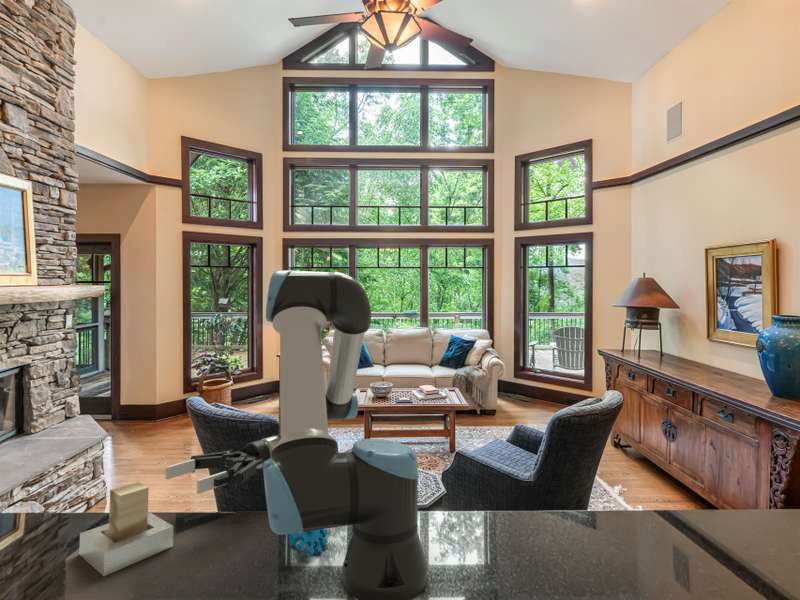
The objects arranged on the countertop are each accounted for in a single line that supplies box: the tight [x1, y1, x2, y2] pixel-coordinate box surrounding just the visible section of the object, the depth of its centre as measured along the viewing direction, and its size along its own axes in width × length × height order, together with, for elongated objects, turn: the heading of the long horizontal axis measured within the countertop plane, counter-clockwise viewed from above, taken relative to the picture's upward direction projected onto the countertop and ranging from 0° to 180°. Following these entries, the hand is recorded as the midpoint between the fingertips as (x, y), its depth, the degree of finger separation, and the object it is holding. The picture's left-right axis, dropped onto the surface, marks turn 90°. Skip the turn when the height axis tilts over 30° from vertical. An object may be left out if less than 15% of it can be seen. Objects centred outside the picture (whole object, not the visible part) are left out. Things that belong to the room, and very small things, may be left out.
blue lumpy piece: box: [288, 529, 329, 557], centre depth 83 cm, size 11×6×10 cm
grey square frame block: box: [78, 511, 174, 577], centre depth 82 cm, size 12×12×4 cm
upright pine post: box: [108, 481, 150, 543], centre depth 82 cm, size 5×5×12 cm
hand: (181, 479), depth 91 cm, fingers open, 13 cm apart
